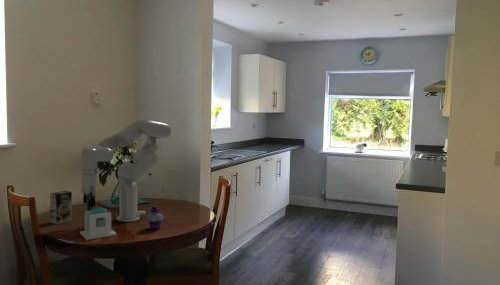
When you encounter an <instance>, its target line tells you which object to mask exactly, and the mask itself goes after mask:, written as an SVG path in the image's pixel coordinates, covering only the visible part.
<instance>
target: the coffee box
mask: <svg viewBox="0 0 500 285" xmlns="http://www.w3.org/2000/svg"><path fill="white" fill-rule="evenodd" d="M72 193H73V192H72V191H69V190H67V191H66V190H63V191H62V190H60V191H56V192H50V193H49V220H50V221H49V222H50V224H54V225H59V224H60V225H61V224H63V223H69V222H72V221H73V201H72V200H73V199H72V198H73V197H72V196H73V194H72Z"/></svg>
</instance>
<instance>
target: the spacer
mask: <svg viewBox="0 0 500 285" xmlns="http://www.w3.org/2000/svg"><path fill="white" fill-rule="evenodd" d="M105 209H106V208H104V207H95V208H93V209H91V215H93V214H101V213H105ZM103 218H104V217H103Z"/></svg>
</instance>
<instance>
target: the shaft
mask: <svg viewBox="0 0 500 285" xmlns="http://www.w3.org/2000/svg"><path fill="white" fill-rule="evenodd" d="M90 196H91V195H90ZM86 198H87V203H86V211H91V209H94V207H89V206H88V199H89V195H88V194H87V195H86ZM96 225H97V226H104V225H105V222H104V219H103V218H96Z"/></svg>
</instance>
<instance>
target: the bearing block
mask: <svg viewBox="0 0 500 285" xmlns="http://www.w3.org/2000/svg"><path fill="white" fill-rule="evenodd" d="M104 209H105V213H101V214H93V215H91V211H87V210H85V211H84V230H81V231H79V234H80V235H81V236H82V237H83V238H84V239H85V240H86V241H89V240H94V239H95V240H96V239H99V238H105V237H106V238H108V237H111V236H117V232H116V231H115V230H113V229H112V212H107V209H106V208H104ZM103 217H104V218H103ZM96 218H103V219H104V222H105V225H104V226H97V225H96Z"/></svg>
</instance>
